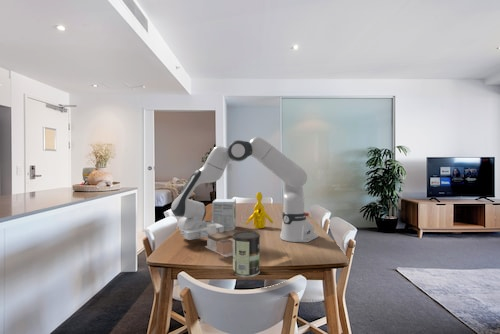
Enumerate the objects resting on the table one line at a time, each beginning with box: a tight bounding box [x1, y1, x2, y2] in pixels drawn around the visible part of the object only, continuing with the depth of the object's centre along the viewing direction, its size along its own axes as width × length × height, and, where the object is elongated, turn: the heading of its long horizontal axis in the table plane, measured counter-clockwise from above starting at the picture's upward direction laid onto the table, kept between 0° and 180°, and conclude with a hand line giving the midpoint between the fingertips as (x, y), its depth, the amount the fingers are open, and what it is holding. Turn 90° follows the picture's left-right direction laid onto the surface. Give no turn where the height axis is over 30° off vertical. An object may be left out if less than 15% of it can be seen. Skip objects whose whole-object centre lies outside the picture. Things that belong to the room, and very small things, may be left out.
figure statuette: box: [245, 191, 275, 230], centre depth 172 cm, size 18×8×22 cm, turn 96°
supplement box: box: [211, 198, 237, 232], centre depth 169 cm, size 13×13×18 cm
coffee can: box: [232, 231, 261, 278], centre depth 102 cm, size 10×10×14 cm
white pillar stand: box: [203, 224, 233, 258], centre depth 123 cm, size 6×18×11 cm, turn 40°
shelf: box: [208, 229, 243, 242], centre depth 120 cm, size 15×7×10 cm, turn 130°
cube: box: [216, 239, 233, 256], centre depth 120 cm, size 5×5×5 cm
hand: (212, 235), depth 127 cm, fingers closed on white pillar stand, 3 cm apart
